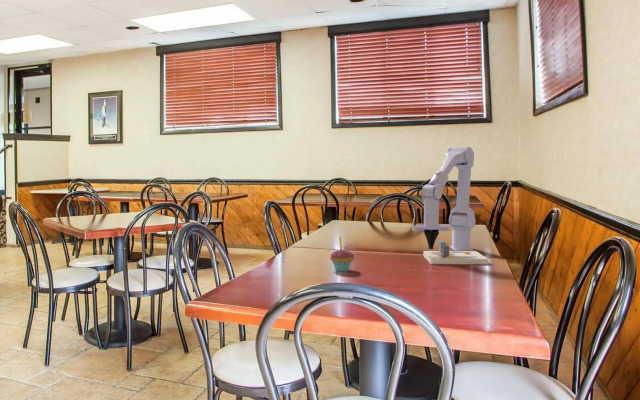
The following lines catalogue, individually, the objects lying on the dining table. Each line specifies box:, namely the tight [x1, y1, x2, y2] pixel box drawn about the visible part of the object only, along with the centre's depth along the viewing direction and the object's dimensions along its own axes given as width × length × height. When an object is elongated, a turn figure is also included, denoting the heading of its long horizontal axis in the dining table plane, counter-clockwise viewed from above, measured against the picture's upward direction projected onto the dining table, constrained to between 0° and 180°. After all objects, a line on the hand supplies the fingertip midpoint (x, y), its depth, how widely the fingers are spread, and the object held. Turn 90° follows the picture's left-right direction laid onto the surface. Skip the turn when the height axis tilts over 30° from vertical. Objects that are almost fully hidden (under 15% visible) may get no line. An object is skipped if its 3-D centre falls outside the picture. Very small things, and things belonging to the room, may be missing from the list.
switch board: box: [422, 250, 489, 265], centre depth 178 cm, size 15×21×3 cm
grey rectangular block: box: [438, 240, 447, 252], centre depth 183 cm, size 3×2×4 cm, turn 178°
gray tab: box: [442, 244, 450, 257], centre depth 174 cm, size 3×2×4 cm, turn 178°
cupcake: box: [330, 236, 356, 272], centre depth 162 cm, size 9×8×12 cm
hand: (430, 248), depth 183 cm, fingers closed
